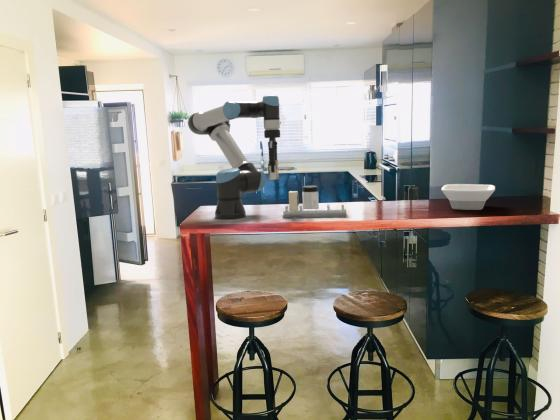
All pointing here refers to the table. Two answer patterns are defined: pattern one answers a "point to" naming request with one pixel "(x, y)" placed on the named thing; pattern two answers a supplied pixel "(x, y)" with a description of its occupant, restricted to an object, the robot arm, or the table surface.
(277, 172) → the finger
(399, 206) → the table surface
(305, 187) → the jar
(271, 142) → the robot arm
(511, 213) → the table surface
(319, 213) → the rail
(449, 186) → the bowl
